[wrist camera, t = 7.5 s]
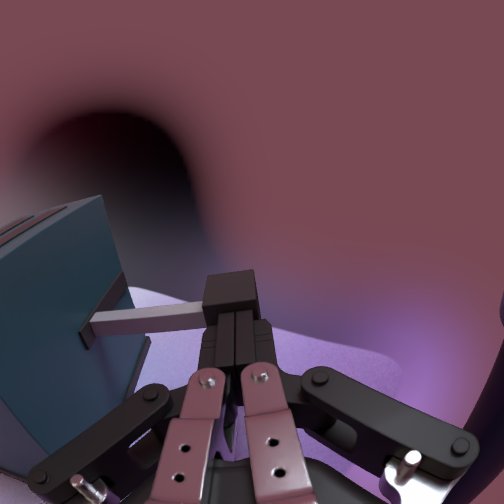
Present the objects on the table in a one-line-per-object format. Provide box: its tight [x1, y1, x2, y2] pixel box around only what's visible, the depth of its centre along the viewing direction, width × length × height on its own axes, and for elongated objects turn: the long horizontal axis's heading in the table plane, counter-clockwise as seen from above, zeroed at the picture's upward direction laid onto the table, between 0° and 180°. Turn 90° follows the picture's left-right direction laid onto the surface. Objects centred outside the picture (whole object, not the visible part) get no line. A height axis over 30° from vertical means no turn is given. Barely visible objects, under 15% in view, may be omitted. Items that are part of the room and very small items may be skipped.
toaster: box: [0, 195, 151, 483], centre depth 15 cm, size 8×14×12 cm, turn 2°
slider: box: [90, 270, 261, 336], centre depth 15 cm, size 9×3×3 cm, turn 92°
